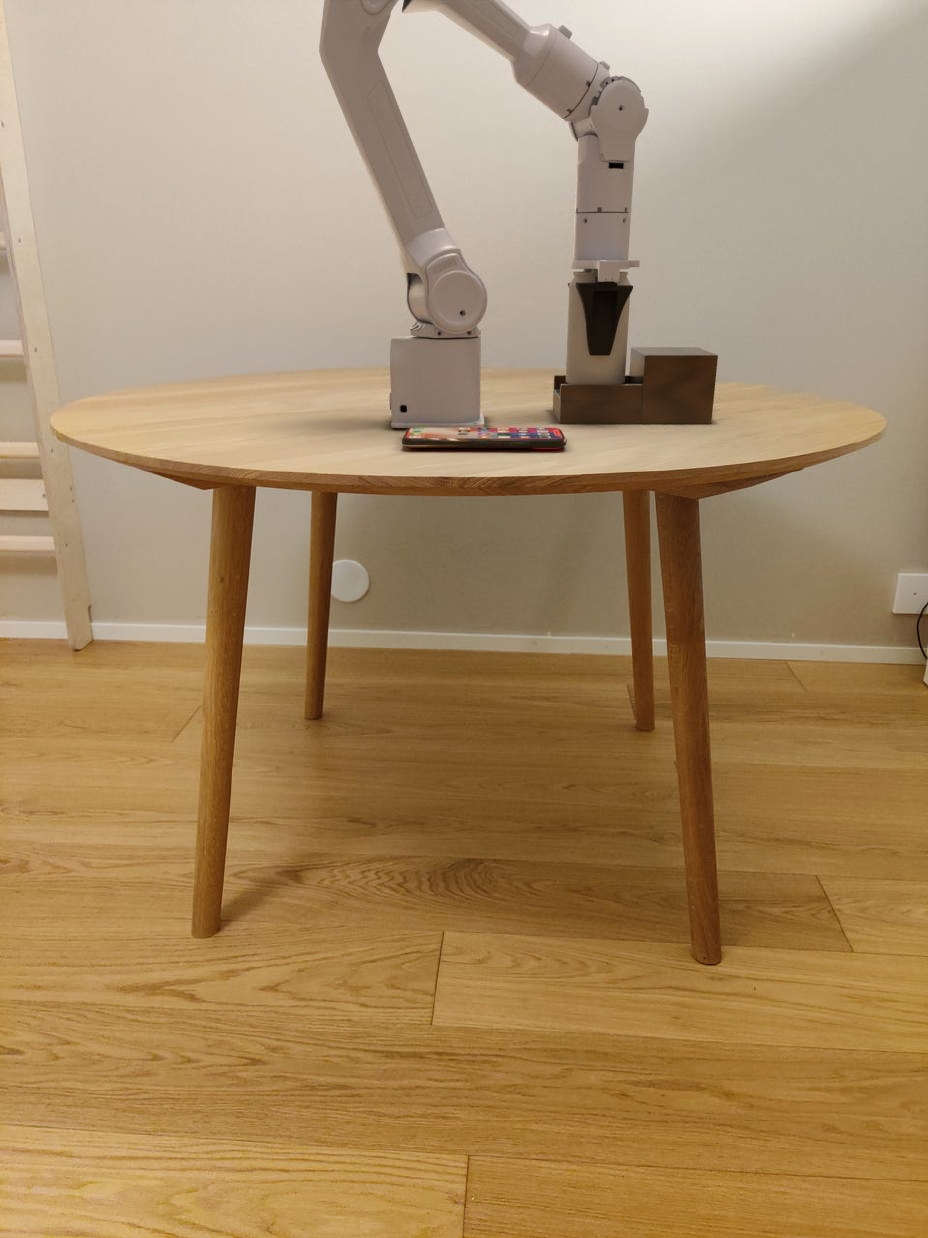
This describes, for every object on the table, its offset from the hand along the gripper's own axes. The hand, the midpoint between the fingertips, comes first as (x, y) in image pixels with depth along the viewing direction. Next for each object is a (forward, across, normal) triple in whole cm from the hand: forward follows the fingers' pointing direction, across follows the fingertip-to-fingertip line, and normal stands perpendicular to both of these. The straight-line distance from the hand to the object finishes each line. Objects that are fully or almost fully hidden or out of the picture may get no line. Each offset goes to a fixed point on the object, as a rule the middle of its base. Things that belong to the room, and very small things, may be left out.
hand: (595, 352), depth 99 cm
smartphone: (+7, -16, +12) cm, 21 cm away
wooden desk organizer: (+7, 0, -4) cm, 8 cm away
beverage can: (+4, 0, 0) cm, 4 cm away
